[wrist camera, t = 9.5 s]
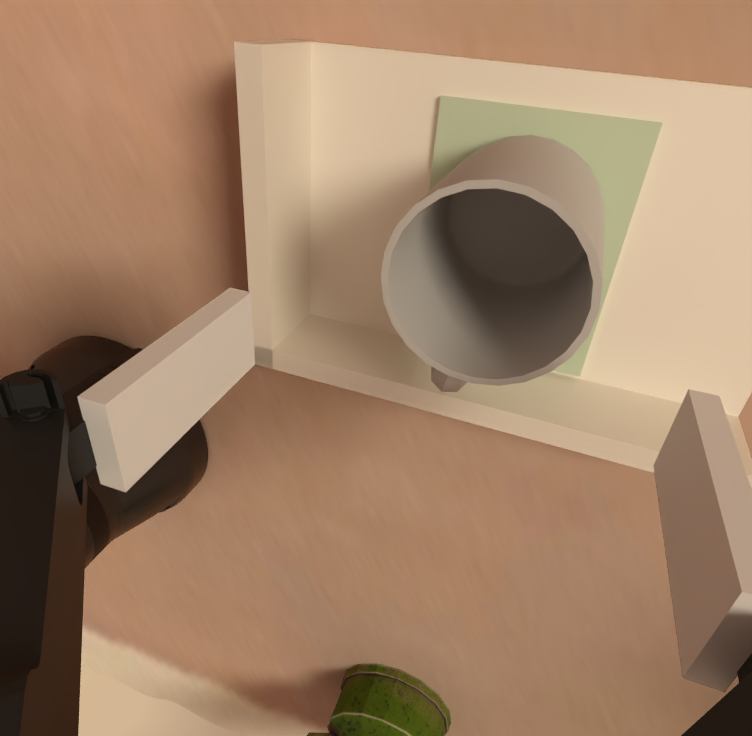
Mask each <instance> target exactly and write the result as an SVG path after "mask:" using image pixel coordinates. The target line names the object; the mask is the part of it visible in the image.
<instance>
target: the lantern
mask: <svg viewBox="0 0 752 736" xmlns="http://www.w3.org/2000/svg"><path fill="white" fill-rule="evenodd" d="M341 690H342V692H341V695H340V697H339V699H338V702H337V704H336V707H335V709H334V712H333V714H332V717H331V719H330V722H329V724H328V730H329V733H310V732H309V733H308V735H307V736H445V734H446V733H447V732H448V730H449V727H450V725H451V719H450V710H449V709H448V707H447V706H446V704H445V703H444V702H443V700H442V699H441V697H440V696H439V695H438V694H437V693H436V692H435V691H433V690H432V689H431V688H430V687H428V686H427V685H426V684H425V683H424V682H422V681H421V680H419V679H417V678H415V677H413V676H411V675H409V674H407V673H405V672H403V671H401V670H399V669H395V668H391V667H387V666H384V665H380V664H358V665H356V666H354V667H352V668H350V669H348V670H347V671H346V674H345V676H344V678H343V681H342V685H341Z"/></svg>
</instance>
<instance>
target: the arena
mask: <svg viewBox="0 0 752 736" xmlns="http://www.w3.org/2000/svg"><path fill="white" fill-rule="evenodd" d="M234 52H235V69H236V86H237V103H238V120H239V137H240V154H241V171H242V188H243V204H244V221H245V238H246V255H247V272H248V289H249V292H251V298H252V317H253V336H254V354H255V364H256V365H259V366H263V367H267V368H270V369H274V370H278V371H281V372H285V373H289V374H292V375H296V376H300V377H303V378H307V379H311V380H314V381H318V382H322V383H325V384H329V385H333V386H336V387H340V388H344V389H347V390H351V391H355V392H359V393H362V394H366V395H370V396H373V397H377V398H381V399H384V400H388V401H392V402H395V403H399V404H403V405H406V406H410V407H414V408H417V409H421V410H425V411H428V412H432V413H436V414H439V415H443V416H447V417H450V418H454V419H458V420H461V421H465V422H469V423H473V424H476V425H480V426H484V427H487V428H491V429H495V430H498V431H502V432H506V433H509V434H513V435H517V436H520V437H524V438H528V439H531V440H535V441H539V442H542V443H546V444H550V445H553V446H557V447H561V448H564V449H568V450H572V451H575V452H579V453H583V454H587V455H590V456H594V457H598V458H601V459H605V460H609V461H612V462H616V463H620V464H623V465H627V466H631V467H634V468H638V469H642V470H645V471H649V472H653V473H654V466H653V465H654V463H655V461H656V459H657V457H658V454H659V452H660V450H661V448H662V446H663V443H664V441H665V439H666V437H667V435H668V433H669V430H670V428H671V426H672V424H673V422H674V420H675V417H676V415H677V413H678V411H679V409H680V406H681V404H682V402H683V400H684V398H685V396H686V393H687V391H688V389H690V390H695V391H699V392H704V393H709V394H713V395H718V396H720V399H721V402H722V405H723V408H724V410H725V413H726V416H727V419H728V422H729V425H730V428H731V431H732V434H733V437H734V440H735V442H736V445H737V448H738V451H739V454H740V457H741V460H742V463H743V466H744V469H745V472H746V474H747V477H748V480H749V483H750V486H751V487H752V458H751V455H750V452H749V449H748V446H747V443H746V440H745V437H744V434H743V430H742V427H741V424H740V421H739V418H738V416H739V414H740V412H741V410H742V409H743V407H744V405H745V403H746V401H747V399H748V398H749V396H750V394H751V392H752V87H744V86H734V85H725V84H715V83H706V82H696V81H687V80H677V79H668V78H658V77H649V76H639V75H630V74H620V73H611V72H601V71H592V70H582V69H573V68H563V67H553V66H544V65H534V64H525V63H515V62H506V61H496V60H487V59H477V58H468V57H458V56H449V55H439V54H430V53H420V52H411V51H401V50H392V49H382V48H373V47H363V46H353V45H344V44H334V43H325V42H315V41H306V40H296V39H284V40H261V41H238V42H234ZM442 95H444V96H452V97H460V98H468V99H476V100H484V101H492V102H500V103H508V104H517V105H525V106H533V107H541V108H549V109H557V110H565V111H573V112H581V113H589V114H597V115H605V116H614V117H622V118H630V119H638V120H646V121H654V122H662V127H661V130H660V133H659V136H658V139H657V142H656V145H655V148H654V151H653V154H652V157H651V160H650V163H649V166H648V169H647V172H646V176H645V179H644V182H643V185H642V188H641V191H640V194H639V197H638V200H637V203H636V206H635V209H634V212H633V215H632V218H631V221H630V225H629V228H628V231H627V234H626V237H625V240H624V243H623V246H622V249H621V252H620V255H619V258H618V261H617V264H616V267H615V270H614V274H613V277H612V280H611V283H610V286H609V289H608V292H607V295H606V298H605V301H604V304H603V307H602V310H601V313H600V316H599V319H598V322H597V326H596V329H595V332H594V335H593V338H592V341H591V344H590V347H589V350H588V353H587V356H586V359H585V362H584V365H583V368H582V371H581V375H580V377H579V376H575V375H571V374H567V373H563V372H558V371H554V370H553V371H551V372H550V373H547V374H545V375H542V376H540V377H537V378H534V379H532V380H529V381H527V382H522V383H515V384H508V385H501V386H496V385H485V384H474V383H470V382H467V383H466V384H465V385H464V386H463V387H462V388H461V389H459V390H458V391H457V392H441V391H440V389H439V388H438V387H437V386H436V385H435V384H434V383H433V382H432V381H431V366H430V365H428V364H427V363H425V362H424V361H423V360H422V359H421V358H420V357H419V356H418V355H416V354H415V353H414V352H413V351H412V350H411V349H410V348H409V347H408V346H407V345H406V344H405V342H404V341H403V340H402V338H401V337H400V335H399V334H398V332H397V331H396V329H395V328H394V326H393V325H392V322H391V320H390V317H389V315H388V312H387V309H386V307H385V304H384V301H383V293H382V284H381V271H382V264H383V258H384V251H385V249H386V247H387V244H388V242H389V240H390V238H391V236H392V234H393V231H394V229H395V227H396V226H397V225H398V223H399V222H400V221H401V220H402V219H403V217H404V216H405V215H406V214H407V213H408V212H409V210H410V209H411V208H412V207H413V206H414V205H415V204H416V203H417V202H418V201H419V200H420V199H421V198H423V197H424V196H425V195H426V194H427V193H428V192H429V188H430V180H431V171H432V163H433V155H434V147H435V138H436V130H437V122H438V114H439V106H440V97H441V96H442Z"/></svg>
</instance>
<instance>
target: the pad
mask: <svg viewBox="0 0 752 736" xmlns="http://www.w3.org/2000/svg"><path fill="white" fill-rule="evenodd" d="M661 127H662V122H654V121H646V120H638V119H630V118H622V117H614V116H605V115H597V114H589V113H581V112H573V111H565V110H557V109H549V108H541V107H533V106H525V105H517V104H508V103H500V102H492V101H484V100H476V99H468V98H460V97H452V96H444V95H442V96H441V97H440V106H439V114H438V122H437V130H436V138H435V147H434V155H433V163H432V171H431V180H430V188H429V191H430V190H431V189H432V188H433V187H435V186H436V185H437V184H438V183H439V182H440V181H441V180H442V179H443V178H444V177H446V176H447V175H448V174H449V173H450V172H451V171H452V170H453V169H454V168H455V167H457V166H458V165H459V164H460V163H461V162H462V161H463V160H464V159H465V158H467V157H468V156H470V155H471V154H473V153H474V152H476V151H477V150H479V149H480V148H482V147H483V146H485V145H486V144H489V143H492V142H494V141H497V140H500V139H503V138H506V137H509V136H523V135H534V136H539V137H544V138H548V139H553V140H555V141H557V142H559V143H561V144H563V145H565V146H566V147H568V148H570V149H572V150H574V151H575V152H576V153H577V154H578V155H579V156H580V157H581V158H582V159H583V160H584V161H585V162H586V163H587V164H588V165H589V166H590V168H591V170H592V172H593V174H594V176H595V178H596V180H597V181H598V183H599V185H600V189H601V193H602V198H603V203H604V208H605V228H604V254H603V279H602V291H601V301H600V310H599V312H598V315H597V317H596V320H595V322H594V325H593V327H592V330H591V332H590V334H589V336H588V337H587V339H586V340H585V341H584V342H583V344H582V345H581V346H580V347H579V348H578V350H577V351H576V352H575V353H574V355H573V356H572V357H571V358H569V359H568V360H567V361H565V362H564V363H562V364H561V365H560V366H558V367H557V368H555V369H554V371H558V372H563V373H567V374H571V375H575V376H579V377H580V375H581V371H582V368H583V365H584V362H585V359H586V356H587V353H588V350H589V347H590V344H591V341H592V338H593V335H594V332H595V329H596V326H597V322H598V319H599V316H600V313H601V310H602V307H603V304H604V301H605V298H606V295H607V292H608V289H609V286H610V283H611V280H612V277H613V274H614V270H615V267H616V264H617V261H618V258H619V255H620V252H621V249H622V246H623V243H624V240H625V237H626V234H627V231H628V228H629V225H630V221H631V218H632V215H633V212H634V209H635V206H636V203H637V200H638V197H639V194H640V191H641V188H642V185H643V182H644V179H645V176H646V172H647V169H648V166H649V163H650V160H651V157H652V154H653V151H654V148H655V145H656V142H657V139H658V136H659V133H660V130H661Z"/></svg>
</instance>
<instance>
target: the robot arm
mask: <svg viewBox="0 0 752 736" xmlns="http://www.w3.org/2000/svg"><path fill="white" fill-rule="evenodd" d="M254 365H255V354H254V336H253V317H252V298H251V292H248V291H244V290H239V289H235V288H229V289H227V290H226V291H225V292H223V293H222V294H220V295H219V296H218V297H216V298H215V299H213V300H212V301H211V302H209V303H208V304H206V305H205V306H204V307H202V308H201V309H199V310H198V311H197V312H195V313H194V314H192V315H191V316H190V317H188V318H187V319H185V320H184V321H183V322H181V323H180V324H178V325H177V326H176V327H174V328H173V329H171V330H170V331H169V332H167V333H166V334H164V335H163V336H161V337H160V338H159V339H157V340H156V341H154V342H153V343H152V344H150V345H149V346H147V347H146V348H145V349H140V348H137V349H134V350H132V349H130V348H129V347H127V346H124V345H122V344H120V343H117V342H115V341H112V340H109V339H105V338H101V337H94V336H80V337H75V338H71V339H68V340H66V341H64V342H63V343H61V344H59V345H57V346H56V347H54V348H52V349H51V350H49V351H47V352H45V353H44V354H42V355H41V356H40V357H39V358H37V359H36V360H35V361H34V362H33V363H32V365H31V366H30V368H29V369H28V370H24V371H20V372H15V373H13V374H11V375H8V376H6V377H4V378H2V379H1V380H0V736H78V724H79V697H80V672H81V646H82V620H83V594H84V569H85V568H86V567H87V566H88V565H89V564H90V562H91V561H92V560H93V559H94V558H95V557H96V556H97V555H98V554H99V553H100V552H101V551H102V550H103V549H104V548H105V547H106V546H107V545H108V544H109V543H110V542H111V541H112V540H114V539H115V538H117V537H119V536H120V535H122V534H124V533H125V532H127V531H129V530H131V529H132V528H134V527H136V526H137V525H139V524H141V523H142V522H144V521H146V520H147V519H149V518H151V517H152V516H154V515H155V514H157V513H159V512H163V511H165V510H167V509H169V508H171V507H173V506H175V505H177V504H178V503H179V502H180V501H182V500H183V499H184V498H185V497H186V496H187V495H188V494H189V492H190V491H191V490H192V489H193V488H194V487H195V486H196V485H197V484H198V483H199V481H200V480H201V479H202V477H203V475H204V473H205V470H206V467H207V462H208V448H207V442H206V438H205V434H204V431H203V428H202V425H201V423H200V421H199V419H200V418H201V417H202V416H203V415H204V414H205V413H206V412H207V411H208V410H209V409H210V408H211V407H212V406H213V405H214V404H215V403H216V402H217V401H218V400H219V399H220V398H221V397H222V396H223V395H224V394H225V393H226V392H227V391H228V390H230V389H231V388H232V387H233V386H234V385H235V384H236V383H237V382H238V381H239V380H240V379H241V378H242V377H243V376H244V375H245V374H246V373H247V372H248V371H249V370H250V369H251V368H252V367H253V366H254ZM653 466H654V473H655V481H656V488H657V495H658V502H659V510H660V517H661V524H662V532H663V539H664V546H665V553H666V561H667V568H668V575H669V582H670V590H671V597H672V604H673V611H674V619H675V626H676V633H677V640H678V648H679V655H680V662H681V669H682V677H683V678H684V679H687V680H690V681H693V682H696V683H699V684H702V685H705V686H708V687H711V688H714V689H717V690H720V691H723V692H725V691H726V690H727V688H728V687H729V686H730V684H731V683H732V682H733V681H734V679H735V678H736V677H737V676H738V679H739V684H738V685H737V686H736V687H734V688H733V689H732V690H731V691H730V692H729V693H728V694H727V695H726V696H724V697H723V698H722V699H721V700H720V701H719V702H718V703H717V704H716V705H715V706H713V707H712V708H711V709H710V710H709V711H708V712H707V713H706V714H705V715H704V716H702V717H701V718H700V719H699V720H698V721H697V722H696V723H695V724H694V725H693V726H691V727H690V728H689V729H688V730H687V731H686V732H685V733H684V734H683V735H681V736H752V489H751V486H750V483H749V480H748V477H747V474H746V472H745V469H744V466H743V463H742V460H741V457H740V454H739V451H738V448H737V445H736V442H735V440H734V437H733V434H732V431H731V428H730V425H729V422H728V419H727V416H726V413H725V410H724V408H723V405H722V402H721V399H720V396H718V395H713V394H709V393H704V392H699V391H695V390H690V389H688V391H687V393H686V396H685V398H684V400H683V402H682V404H681V406H680V409H679V411H678V413H677V415H676V417H675V420H674V422H673V424H672V426H671V428H670V430H669V433H668V435H667V437H666V439H665V441H664V443H663V446H662V448H661V450H660V452H659V454H658V457H657V459H656V461H655V463H654V465H653Z"/></svg>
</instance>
